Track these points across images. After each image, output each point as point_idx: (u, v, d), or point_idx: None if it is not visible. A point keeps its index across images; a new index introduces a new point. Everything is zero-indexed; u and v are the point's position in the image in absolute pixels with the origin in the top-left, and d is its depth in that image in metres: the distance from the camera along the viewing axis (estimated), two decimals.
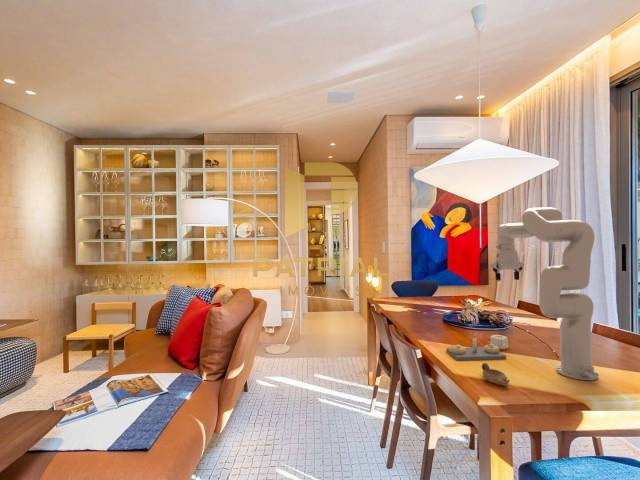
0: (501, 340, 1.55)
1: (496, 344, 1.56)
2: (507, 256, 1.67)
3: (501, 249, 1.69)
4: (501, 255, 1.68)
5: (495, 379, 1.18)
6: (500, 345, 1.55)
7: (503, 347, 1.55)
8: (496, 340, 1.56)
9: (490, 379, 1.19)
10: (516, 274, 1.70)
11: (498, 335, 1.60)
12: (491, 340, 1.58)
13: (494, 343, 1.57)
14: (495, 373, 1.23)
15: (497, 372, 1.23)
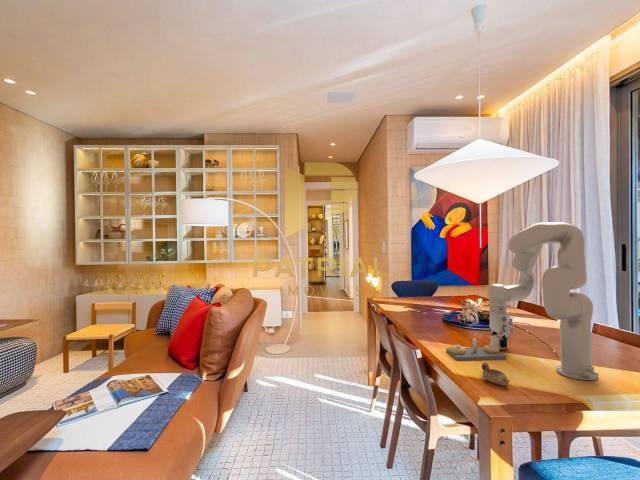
0: None
1: (496, 344, 1.56)
2: None
3: (504, 312, 1.55)
4: (507, 318, 1.54)
5: (495, 379, 1.18)
6: None
7: None
8: (496, 340, 1.56)
9: (490, 379, 1.19)
10: None
11: (498, 335, 1.60)
12: (491, 340, 1.58)
13: (494, 343, 1.57)
14: (495, 373, 1.23)
15: (497, 372, 1.23)
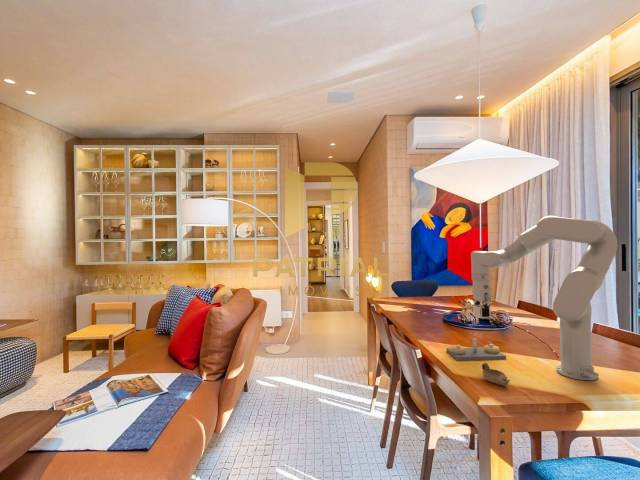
0: None
1: (478, 313, 1.49)
2: None
3: (487, 279, 1.48)
4: None
5: (495, 379, 1.18)
6: None
7: None
8: (478, 309, 1.49)
9: (490, 379, 1.19)
10: None
11: (481, 305, 1.54)
12: (473, 310, 1.52)
13: (476, 312, 1.51)
14: (495, 373, 1.23)
15: (497, 372, 1.23)
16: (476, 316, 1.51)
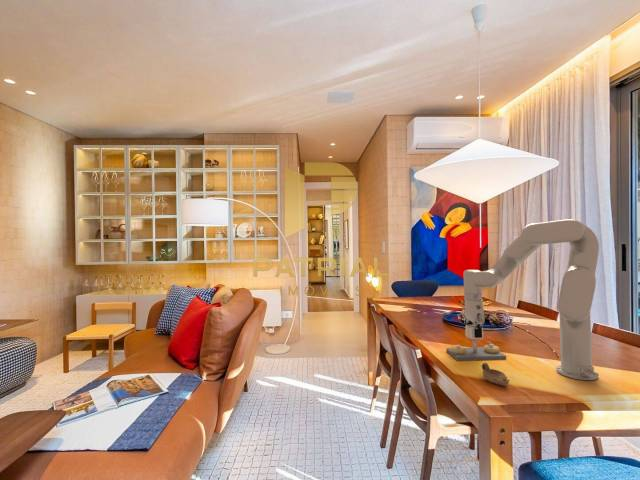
0: None
1: (470, 334, 1.46)
2: None
3: (479, 299, 1.45)
4: (482, 306, 1.44)
5: (495, 379, 1.18)
6: None
7: None
8: (470, 330, 1.46)
9: (490, 379, 1.19)
10: None
11: (473, 325, 1.51)
12: None
13: (468, 333, 1.47)
14: (495, 373, 1.23)
15: (497, 372, 1.23)
16: (468, 336, 1.47)
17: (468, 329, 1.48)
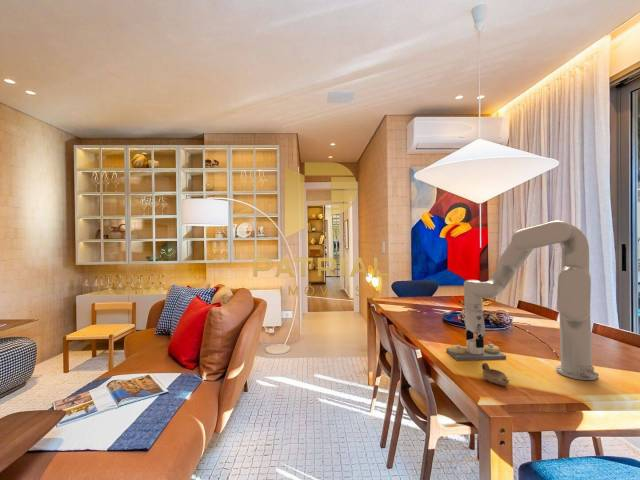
0: None
1: (471, 349, 1.46)
2: None
3: (480, 310, 1.45)
4: (483, 317, 1.44)
5: (495, 379, 1.18)
6: (476, 350, 1.45)
7: (479, 352, 1.45)
8: (471, 345, 1.46)
9: (490, 379, 1.19)
10: (471, 334, 1.53)
11: None
12: (467, 345, 1.48)
13: (469, 348, 1.47)
14: (495, 373, 1.23)
15: (497, 372, 1.23)
16: (469, 352, 1.47)
17: (469, 344, 1.47)
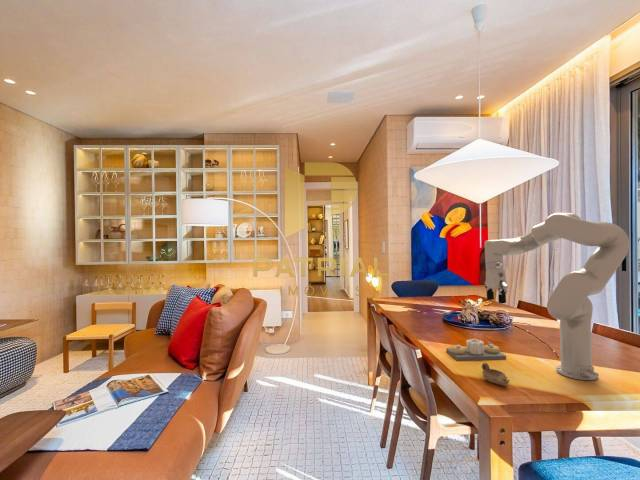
0: (477, 345, 1.45)
1: (471, 349, 1.46)
2: None
3: (501, 267, 1.51)
4: (504, 274, 1.50)
5: (495, 379, 1.18)
6: (476, 350, 1.45)
7: (479, 352, 1.45)
8: (471, 345, 1.46)
9: (490, 379, 1.19)
10: (491, 293, 1.59)
11: None
12: (467, 345, 1.48)
13: (469, 348, 1.47)
14: (495, 373, 1.23)
15: (497, 372, 1.23)
16: (469, 352, 1.47)
17: (469, 344, 1.47)
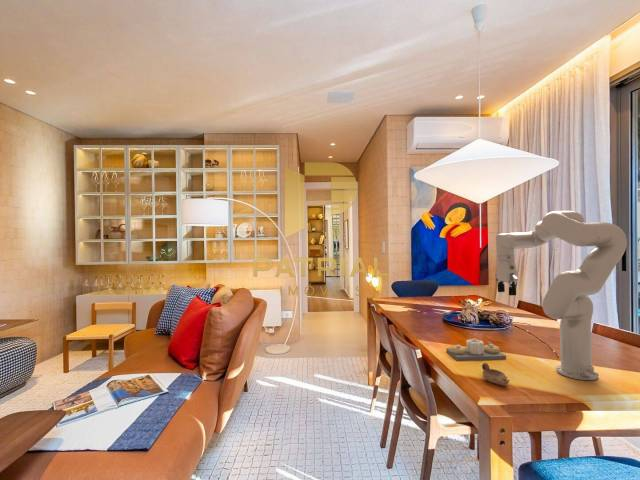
0: (477, 345, 1.45)
1: (471, 349, 1.46)
2: None
3: (512, 260, 1.54)
4: (515, 267, 1.53)
5: (495, 379, 1.18)
6: (476, 350, 1.45)
7: (479, 352, 1.45)
8: (471, 345, 1.46)
9: (490, 379, 1.19)
10: (502, 286, 1.62)
11: None
12: (467, 345, 1.48)
13: (469, 348, 1.47)
14: (495, 373, 1.23)
15: (497, 372, 1.23)
16: (469, 352, 1.47)
17: (469, 344, 1.47)
